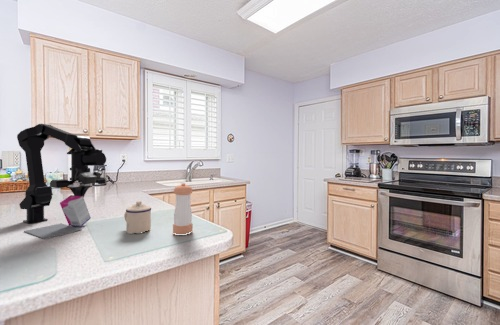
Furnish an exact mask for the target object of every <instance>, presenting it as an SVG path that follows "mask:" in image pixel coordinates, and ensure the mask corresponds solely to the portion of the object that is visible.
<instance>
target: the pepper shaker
mask: <svg viewBox="0 0 500 325" xmlns="http://www.w3.org/2000/svg"><path fill="white" fill-rule="evenodd" d="M173 193H174V195H175V206H174V208H175V209H174V211H173V222H174V223H173V224H172V234H173V233H176V234H186V233H189V232H191V231H192V232H193V222H192V219H193V218H192V217H193V213H192V208H191V207H192V206H191V194H192V193H193V188H192V186H190V185H187V184H186V183H181V184H180V185H177V186H175V187H174V189H173Z"/></svg>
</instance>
